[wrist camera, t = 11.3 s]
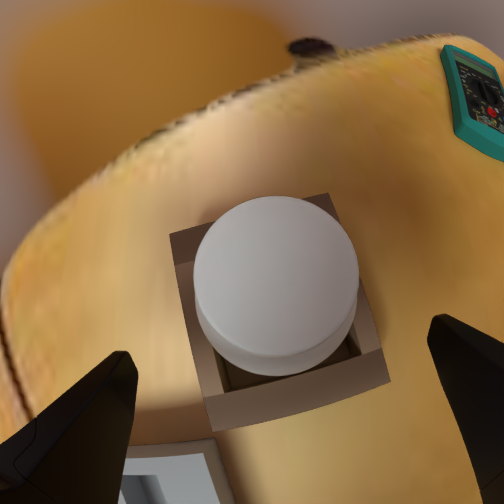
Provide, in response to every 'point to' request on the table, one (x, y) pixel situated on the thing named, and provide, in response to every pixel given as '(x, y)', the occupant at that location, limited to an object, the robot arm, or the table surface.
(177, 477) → the grey slot block
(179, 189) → the table surface
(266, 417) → the walnut socket block
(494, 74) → the digital multimeter
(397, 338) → the table surface
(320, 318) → the supplement bottle
